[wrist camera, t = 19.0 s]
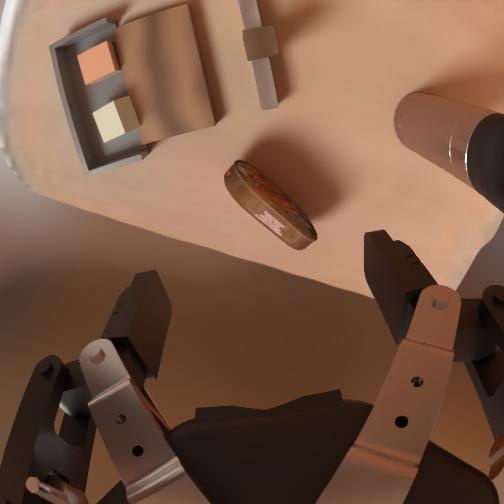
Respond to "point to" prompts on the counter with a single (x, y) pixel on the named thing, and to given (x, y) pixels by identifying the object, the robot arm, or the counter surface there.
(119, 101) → the cream block
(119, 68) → the salmon pink cube
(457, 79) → the counter surface
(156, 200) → the counter surface
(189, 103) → the walnut board
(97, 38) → the box
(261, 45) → the cube on grey rod
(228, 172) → the tin
